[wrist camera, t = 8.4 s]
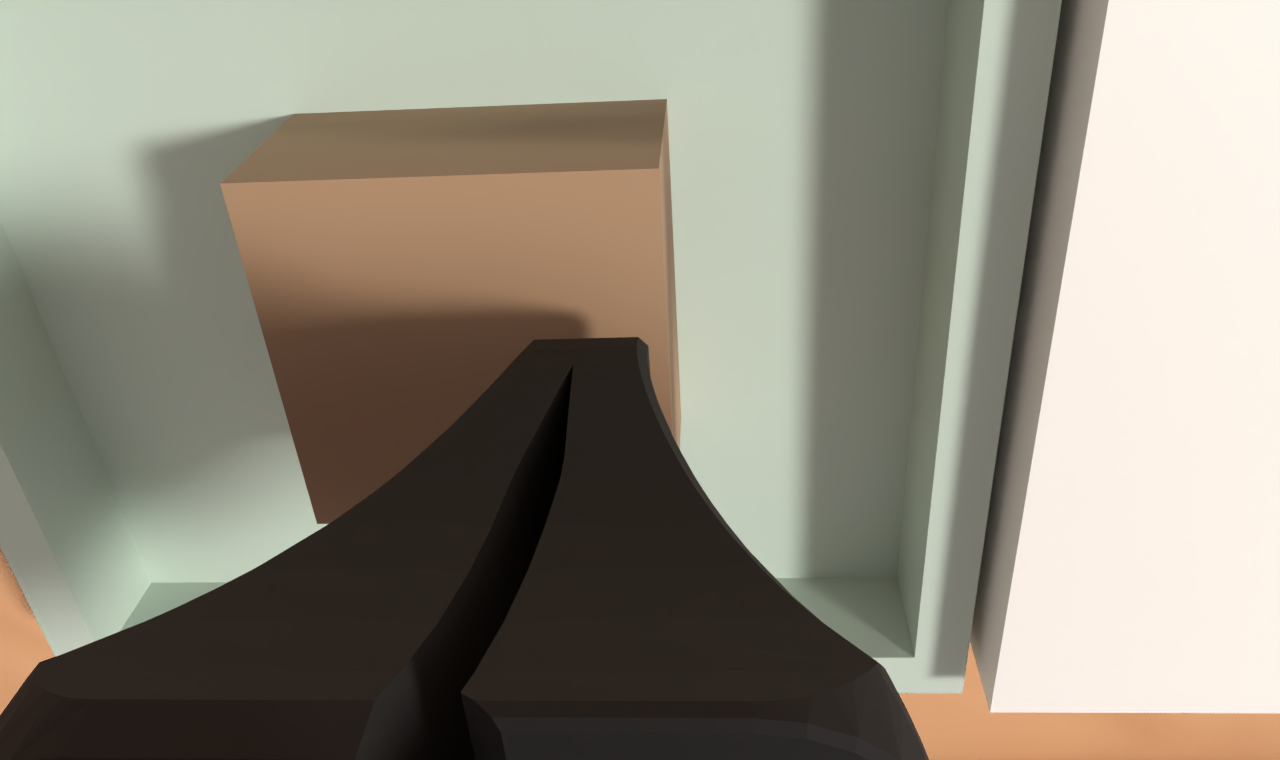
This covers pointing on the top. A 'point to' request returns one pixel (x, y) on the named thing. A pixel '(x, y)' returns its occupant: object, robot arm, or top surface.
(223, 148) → the tray
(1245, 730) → the top surface
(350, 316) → the walnut tile
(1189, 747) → the top surface
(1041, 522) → the board
